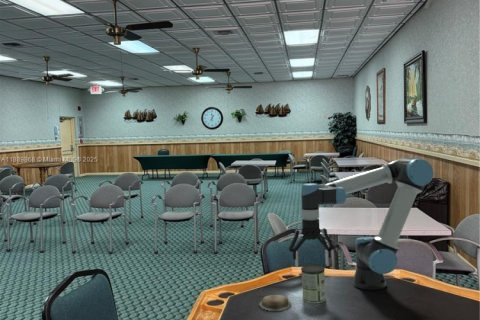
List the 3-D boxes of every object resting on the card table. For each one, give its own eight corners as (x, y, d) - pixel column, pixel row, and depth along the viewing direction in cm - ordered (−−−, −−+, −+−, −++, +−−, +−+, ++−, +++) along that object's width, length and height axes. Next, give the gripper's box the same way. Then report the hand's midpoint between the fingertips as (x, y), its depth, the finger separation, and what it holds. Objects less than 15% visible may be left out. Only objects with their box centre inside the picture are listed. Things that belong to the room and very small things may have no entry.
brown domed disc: (288, 298, 198) (288, 292, 198) (293, 310, 184) (293, 304, 184) (257, 300, 197) (257, 294, 197) (260, 312, 183) (260, 306, 183)
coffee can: (304, 294, 202) (302, 264, 201) (326, 295, 199) (325, 265, 198) (301, 302, 192) (299, 271, 191) (324, 304, 189) (323, 272, 188)
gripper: (336, 215, 198) (337, 262, 199) (281, 218, 197) (282, 264, 198) (340, 218, 191) (341, 266, 192) (283, 221, 190) (285, 269, 190)
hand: (311, 265), depth 195 cm, fingers open, 13 cm apart
